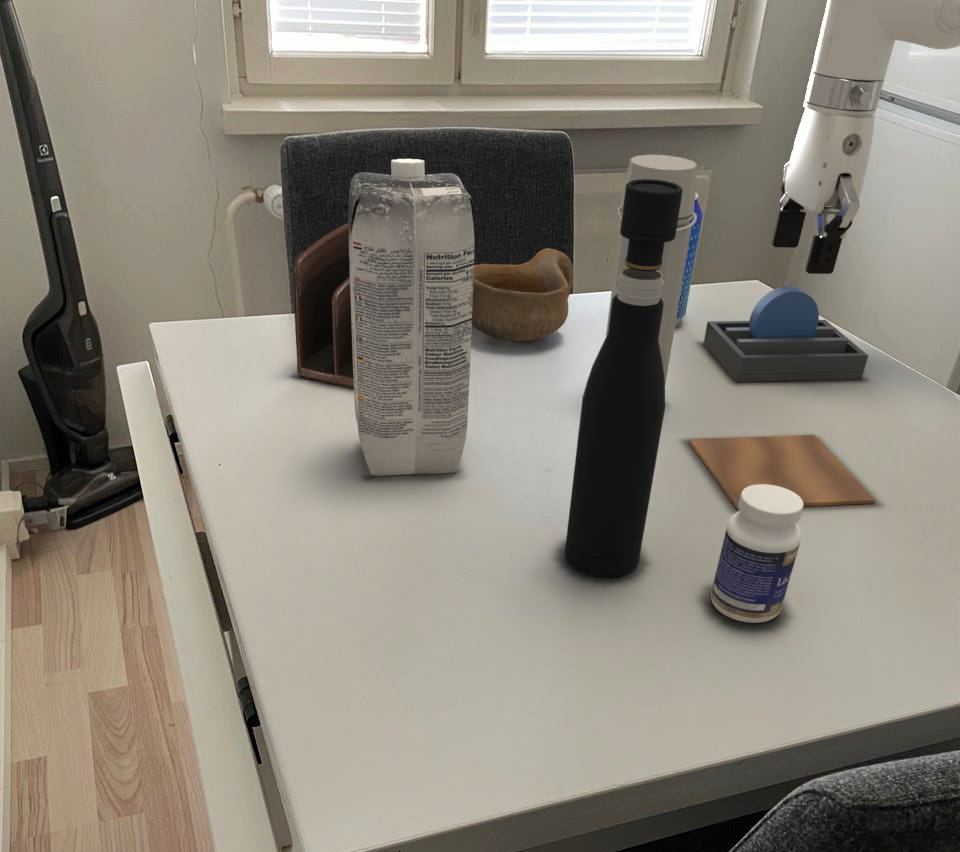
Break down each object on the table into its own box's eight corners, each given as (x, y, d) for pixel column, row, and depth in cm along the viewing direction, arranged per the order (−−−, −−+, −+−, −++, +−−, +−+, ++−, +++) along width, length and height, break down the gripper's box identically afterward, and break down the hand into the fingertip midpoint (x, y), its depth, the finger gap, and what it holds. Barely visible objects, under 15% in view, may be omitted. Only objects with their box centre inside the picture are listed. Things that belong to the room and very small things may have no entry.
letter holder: (296, 377, 113) (287, 249, 104) (374, 322, 128) (371, 206, 119) (375, 394, 110) (372, 264, 101) (445, 335, 125) (447, 218, 116)
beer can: (640, 304, 138) (657, 180, 128) (694, 318, 134) (717, 193, 124) (609, 320, 132) (626, 192, 122) (666, 335, 128) (687, 205, 119)
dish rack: (819, 342, 129) (826, 315, 127) (861, 379, 120) (869, 351, 118) (703, 344, 127) (708, 317, 125) (736, 382, 117) (742, 353, 115)
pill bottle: (782, 630, 78) (814, 521, 72) (709, 620, 79) (734, 511, 73) (778, 590, 83) (807, 484, 77) (709, 581, 83) (732, 475, 77)
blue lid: (809, 343, 123) (814, 279, 118) (816, 349, 122) (821, 285, 117) (747, 356, 123) (749, 293, 118) (753, 362, 122) (756, 298, 117)
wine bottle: (586, 584, 82) (637, 200, 64) (551, 545, 87) (590, 176, 68) (652, 570, 84) (720, 194, 66) (615, 532, 89) (669, 172, 70)
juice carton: (469, 478, 96) (482, 178, 79) (360, 483, 94) (350, 177, 77) (456, 437, 102) (465, 153, 86) (354, 440, 101) (343, 151, 84)
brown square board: (813, 438, 106) (814, 434, 106) (874, 503, 95) (875, 499, 95) (688, 442, 104) (689, 438, 104) (736, 509, 93) (737, 505, 93)
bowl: (489, 287, 136) (512, 217, 129) (578, 334, 134) (606, 265, 128) (430, 326, 123) (453, 250, 116) (527, 379, 121) (556, 304, 114)
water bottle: (598, 386, 114) (627, 150, 99) (666, 394, 113) (706, 157, 98) (589, 419, 107) (618, 170, 92) (661, 428, 106) (704, 178, 91)
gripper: (915, 112, 99) (864, 284, 110) (839, 82, 113) (800, 238, 123) (846, 109, 98) (801, 283, 108) (777, 79, 111) (743, 237, 122)
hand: (800, 259), depth 116 cm, fingers open, 9 cm apart
